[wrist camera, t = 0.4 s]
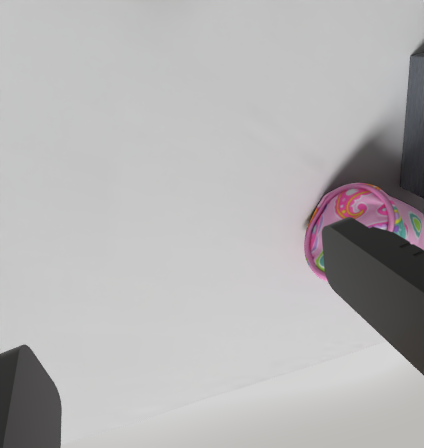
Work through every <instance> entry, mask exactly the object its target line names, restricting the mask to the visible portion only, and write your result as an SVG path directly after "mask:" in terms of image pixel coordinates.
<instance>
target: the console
mask: <svg viewBox="0 0 424 448" xmlns="http://www.w3.org/2000/svg"><path fill="white" fill-rule="evenodd" d="M400 187H402V188H404V189H406V190H408V191H410V192H412V193H414V194H416V195H418V196H420V197H422V198H424V52H422V53H419V54H416V55H412V56H411V58H410V70H409V82H408V95H407V107H406V119H405V131H404V143H403V156H402V168H401V180H400Z"/></svg>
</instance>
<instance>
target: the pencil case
mask: <svg viewBox="0 0 424 448" xmlns="http://www.w3.org/2000/svg"><path fill="white" fill-rule="evenodd" d="M347 217H352V218H354V219H356V220H357V221H359V222H360V223H362V224H364V225H365V226H367V227H368V228H371V227H376V228H380V229H383V230H387V231H390V232H394V233H396V234H397V235H399V236H401V237H402V238H404V239H406V240H407V241H409V242H410V244H411V245H412V244H414V245H416V246H418V247H419V248H421V249H423V250H424V214H423V213H421V212H420V211H419V210H417V209H416V208H414V207H412V206H410V205H408V204H406V203H404V202H402V201H400V200H398V199H396V198H393V197H390V196H388V194H386V193H385V192H384V191H383V190H382V189H380V188H379V187H377V186H375V185H371V184H367V183H351V184H347V185H344V186H341V187H339V188H337V189H335V190H333V191H331V192H329V193H327V194H326V195H325V196H324V197H323V198H322V200H321V202H320V203H319V204H318V206H317V208H316V210H315V212H314V214H313V216H312V218H311V220H310V222H309V225H308V227H307V231H306V235H305V242H304V250H305V257H306V260H307V263H308V265H309V267H310V268H311V270H312V271H313V272H314V273H315V274H316V275H317V276H318V277H319V278H321V279H323V280H325V281H327V282H328V280H327V278H326V275H325V270H324V258H323V245H322V229H323V227H324V226H327V225H329V224H332V223H334V222H337V221H339V220H342V219H344V218H347Z"/></svg>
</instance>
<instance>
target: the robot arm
mask: <svg viewBox="0 0 424 448" xmlns="http://www.w3.org/2000/svg"><path fill="white" fill-rule="evenodd" d="M322 245H323V258H324V270H325V275H326V278H327V280H328V282H329V284H330V286H331V287H332V289H333V290H334V291H335V292H336V293H337V294H338V295H339V296H340V297H341V298H342V299H343V300H344V301H345V302H347V303H348V304H349V305H350V306H351V307H352V308H353V309H354V310H355V311H356V312H357V313H358V314H359V315H360V316H361V317H362V318H364V319H365V320H366V321H367V322H368V323H369V324H370V325H371V326H372V327H373V328H374V329H375V330H376V331H377V332H378V333H379V334H380V335H382V336H383V337H384V338H385V339H386V340H387V341H388V342H389V343H390V344H391V345H392V346H393V347H394V348H395V349H396V350H397V351H399V352H400V353H401V354H402V355H403V356H404V357H405V358H406V359H407V360H408V361H409V362H410V363H411V364H412V365H413V366H414V367H415V368H417V369H418V370H419V371H420V372H421V373H422V374H423V375H424V250H423V249H421V248H419V247H418V246H416V245H414V244H412V245H411V244H410V242H409V241H407V240H406V239H404V238H402V237H401V236H399V235H397V234H396V233H394V232H390V231H387V230H383V229H380V228H376V227H371V228H368V227H367V226H365V225H364V224H362V223H360V222H359V221H357V220H356V219H354V218H352V217H347V218H344V219H342V220H339V221H337V222H334V223H332V224H329V225H327V226H324V227H323V229H322ZM60 446H61V400H60V396H59V393H58V390H57V388H56V386H55V384H54V382H53V381H52V379H51V378H50V376H49V375H48V373H47V372H46V370H45V369H44V368H43V366H42V365H41V363H40V362H39V360H38V359H37V357H36V356H35V354H34V353H33V351H32V350H31V349H30V348H29V347H28V346H27V345H21V346H19V347H16V348H14V349H11V350H9V351H6V352H4V353H1V354H0V448H60Z"/></svg>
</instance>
